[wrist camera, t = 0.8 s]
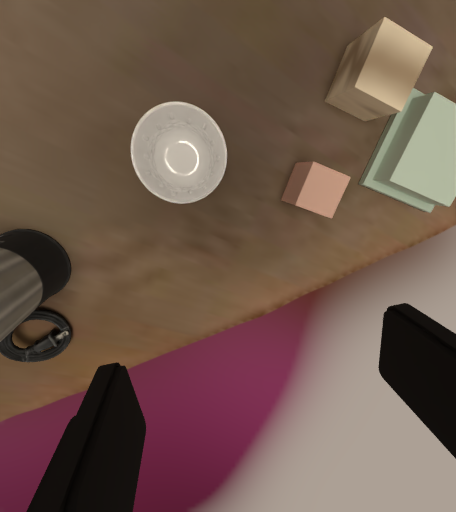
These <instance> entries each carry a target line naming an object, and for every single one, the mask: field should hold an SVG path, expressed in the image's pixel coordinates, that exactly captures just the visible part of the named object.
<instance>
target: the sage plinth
mask: <svg viewBox="0 0 456 512" xmlns="http://www.w3.org/2000/svg"><path fill="white" fill-rule="evenodd" d="M359 184H360V185H362V186H364V187H367V188H369V189H372V190H374V191H376V192H379V193H381V194H383V195H386V196H388V197H391V198H393V199H395V200H398V201H400V202H403V203H405V204H407V205H410V206H412V207H414V208H417V209H419V210H422V211H424V212H429V213H431V211H432V209H433V208H434V206H435V205H440V206H447V207H450V205H451V203H452V202H453V200H454V198H455V197H456V104H455V103H453V102H452V101H450V100H448V99H446V98H445V97H443V96H441V95H440V94H438V93H436V92H432V93H429V94H426V95H425V94H423V93H421V92H420V91H418V90H416V89H414V88H413V89H412V91H411V93H410V95H409V97H408V99H407V101H406V103H405V105H404V107H403V109H402V112H398V113H395V114H391V117H390V119H389V121H388V123H387V125H386V127H385V129H384V131H383V133H382V135H381V137H380V140H379V142H378V144H377V146H376V148H375V150H374V152H373V154H372V156H371V158H370V161H369V163H368V165H367V167H366V169H365V171H364V173H363V175H362V177H361V179H360V181H359Z"/></svg>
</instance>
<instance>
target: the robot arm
mask: <svg viewBox="0 0 456 512" xmlns="http://www.w3.org/2000/svg"><path fill="white" fill-rule="evenodd" d="M379 372H380V374H381V376H382V377H383V379H384V380H385V381H386V382H387V383H388V384H389V385H390V386H391V388H393V390H394V391H395V392H396V393H397V394H398V395H399V396H400V398H401V399H402V400H403V401H404V402H405V403H406V404H407V405H408V406H409V407H410V408H411V410H412V411H413V412H414V413H415V414H416V415H417V416H418V417H419V418H420V420H421V421H422V422H423V423H424V424H425V425H426V426H427V427H428V428H429V430H430V431H431V432H432V433H433V434H434V435H435V436H436V437H437V438H438V439H439V441H440V442H441V443H442V444H443V445H444V446H445V447H446V448H447V449H448V451H450V453H451V454H452V455H453V456H454V457H455V458H456V334H455V333H453V332H451V331H450V330H449V329H447V328H445V327H444V326H442V325H441V324H439V323H438V322H436V321H434V320H433V319H431V318H430V317H428V316H427V315H425V314H423V313H422V312H420V311H419V310H417V309H415V308H414V307H412V306H411V305H409V304H406V303H403V304H399V305H394V306H390V307H388V308H387V311H386V312H385V313H384V318H383V328H382V338H381V348H380V359H379ZM145 434H146V423H145V419H144V416H143V413H142V411H141V408H140V405H139V402H138V400H137V397H136V394H135V391H134V388H133V386H132V383H131V380H130V377H129V374H128V372H127V369H126V367H125V366H120V364H119V363H112V364H107V365H102V366H100V367H98V369H97V371H96V373H95V375H94V377H93V380H92V382H91V384H90V386H89V388H88V391H87V393H86V395H85V397H84V400H83V401H82V404H81V406H80V408H79V410H78V412H77V415H76V416H74V417H73V418H72V419H71V420H70V422H69V423H68V425H67V427H66V429H65V432H64V434H63V436H62V438H61V440H60V442H59V444H58V446H57V449H56V451H55V453H54V455H53V457H52V459H51V461H50V463H49V465H48V467H47V470H46V472H45V474H44V476H43V478H42V480H41V482H40V484H39V486H38V489H37V491H36V493H35V495H34V497H33V499H32V501H31V503H30V505H29V508H28V510H27V512H133V505H134V500H135V494H136V488H137V481H138V476H139V469H140V464H141V458H142V452H143V446H144V440H145Z"/></svg>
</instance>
